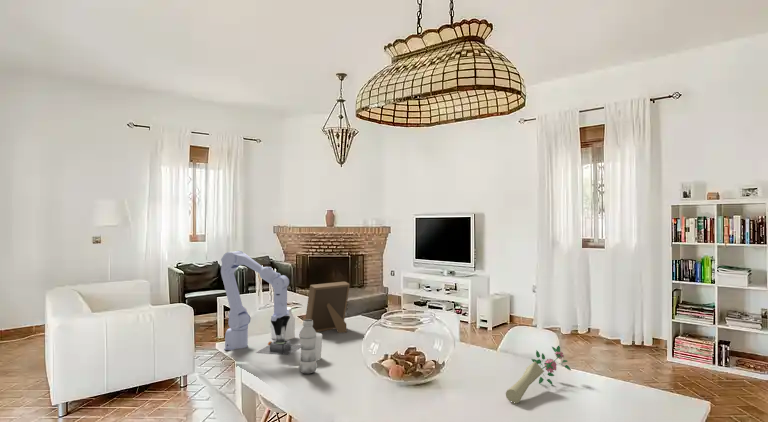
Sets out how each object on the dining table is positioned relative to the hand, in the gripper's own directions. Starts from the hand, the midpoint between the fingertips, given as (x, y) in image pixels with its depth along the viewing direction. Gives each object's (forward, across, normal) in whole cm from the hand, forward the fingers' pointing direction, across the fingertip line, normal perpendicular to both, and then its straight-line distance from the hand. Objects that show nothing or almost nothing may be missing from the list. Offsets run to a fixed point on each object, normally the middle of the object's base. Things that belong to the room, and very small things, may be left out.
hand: (280, 333), depth 215 cm
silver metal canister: (+5, 0, 0) cm, 5 cm away
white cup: (+8, -7, -18) cm, 21 cm away
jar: (+8, +20, +8) cm, 23 cm away
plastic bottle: (+8, -25, -23) cm, 35 cm away
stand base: (+8, 0, 0) cm, 8 cm away
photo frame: (+8, +40, -9) cm, 42 cm away
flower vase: (+8, -24, -107) cm, 110 cm away
